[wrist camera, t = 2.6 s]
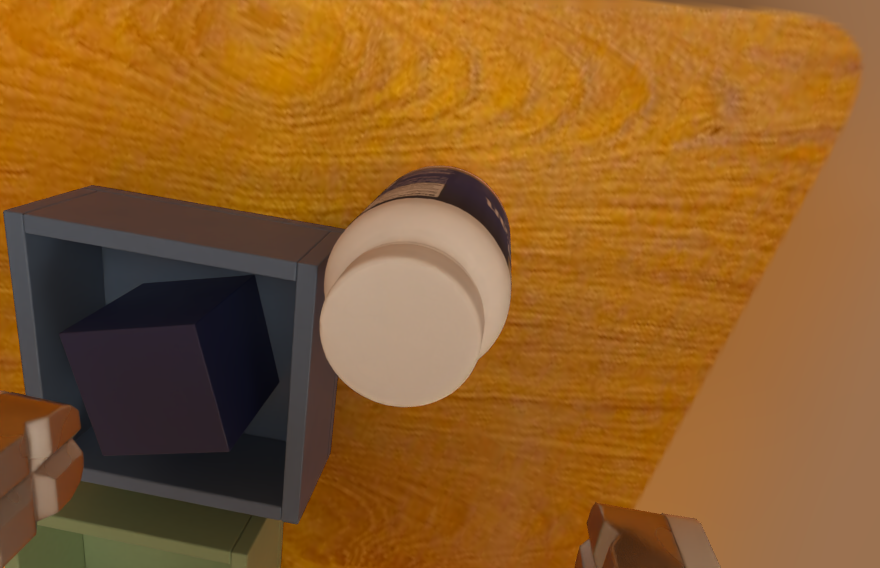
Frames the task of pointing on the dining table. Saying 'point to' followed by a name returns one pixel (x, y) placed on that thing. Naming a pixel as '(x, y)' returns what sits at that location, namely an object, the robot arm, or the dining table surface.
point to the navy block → (174, 366)
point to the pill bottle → (418, 288)
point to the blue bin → (173, 259)
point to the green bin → (148, 534)
